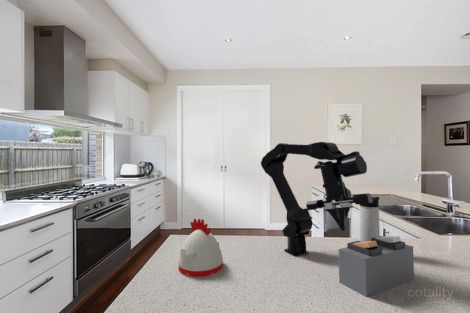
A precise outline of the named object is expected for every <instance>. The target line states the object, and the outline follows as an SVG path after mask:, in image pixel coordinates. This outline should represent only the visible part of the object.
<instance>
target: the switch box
mask: <svg viewBox="0 0 470 313" xmlns="http://www.w3.org/2000/svg"><path fill="white" fill-rule="evenodd" d="M381 236H382V235H380V236H378V237H381ZM375 238H376V237H373V238H371V241H376V243H377V246H374V247H369V248H362V247H359V246H356V245H353V243H358V242H361V241H360V240H356V241H350V242H347V244H346V247H341V248H338V276H339V279H338V282H339V283H340V284H342V285H343V286H345V287H347V288H349V289H350V290H352V291H354V292H357V293H359V294H361V295H363V296H364V297H369V295H370V296H372V295H376V294H378V293H380V292H382V291H385V290H389V289H391V288H394V287H396V286H400V285H402V284H405V283H408V282H410V281H413V280H415V264H414V262H415V261H414V260H415V259H414V246H412V245H409V244H406V241H399V242H395V243H388V242H385V241H382V240H378V239H375Z"/></svg>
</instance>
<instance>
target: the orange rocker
mask: <svg viewBox="0 0 470 313" xmlns="http://www.w3.org/2000/svg"><path fill="white" fill-rule="evenodd" d="M353 245H356V246H359V247H362V248H369V247H374V246H377V243H376V241H367V242H358V243H353Z"/></svg>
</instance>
